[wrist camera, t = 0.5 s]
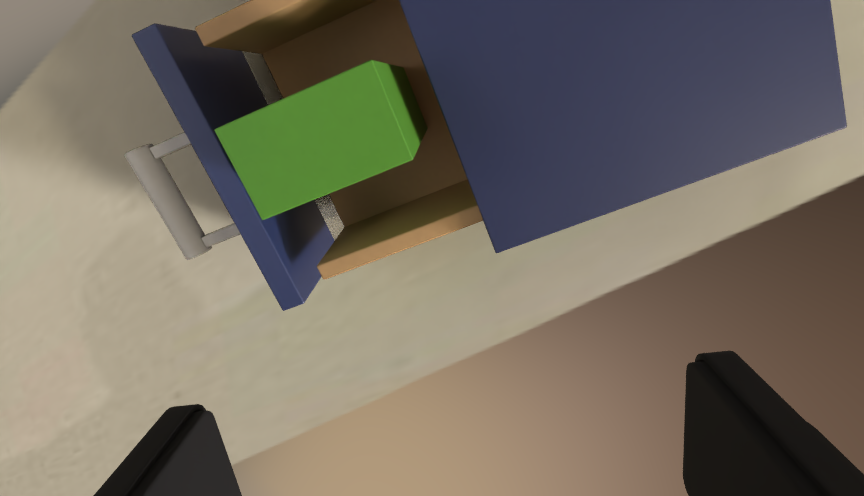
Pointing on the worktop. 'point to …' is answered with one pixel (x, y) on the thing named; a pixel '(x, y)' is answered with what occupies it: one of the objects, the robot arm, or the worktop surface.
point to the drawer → (292, 71)
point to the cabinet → (619, 97)
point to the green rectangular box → (325, 137)
